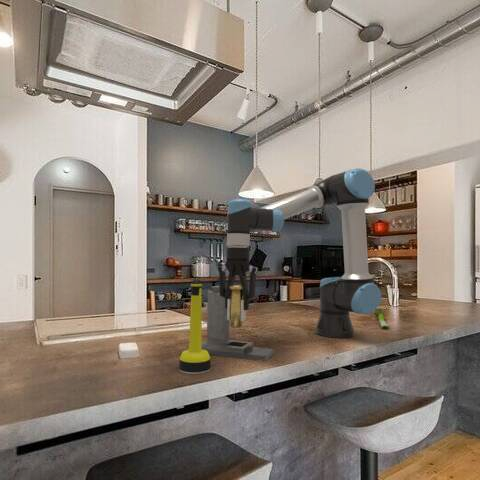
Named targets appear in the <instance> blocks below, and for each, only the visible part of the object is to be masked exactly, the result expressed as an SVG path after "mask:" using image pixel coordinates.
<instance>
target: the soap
mask: <svg viewBox="0 0 480 480" xmlns="http://www.w3.org/2000/svg"><path fill="white" fill-rule="evenodd" d="M139 352H140V351H139V347H138V345H137V342H121V343H119V345H118V354H119V359H120V360H126V359H136V358H139V356H140V353H139Z"/></svg>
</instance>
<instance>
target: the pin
mask: <svg viewBox="0 0 480 480" xmlns="http://www.w3.org/2000/svg"><path fill="white" fill-rule="evenodd" d="M229 289H231V309H230V323H229V327H231V328H242V327H243V322H244V321H241V300H243V293H242V289H243V286H241V284H233V285H231V286H229Z"/></svg>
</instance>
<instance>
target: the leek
mask: <svg viewBox="0 0 480 480" xmlns="http://www.w3.org/2000/svg"><path fill="white" fill-rule="evenodd" d="M384 312H385V310H384V309H383V308H376V310H375V311H374V316H375V320H376V321H379V325H380V327H381V329H383V328H387V330H389V329H390V330H391V327H390V326H389V324H387V322H386V320H385V319H384V318H387V315H386V313H384Z"/></svg>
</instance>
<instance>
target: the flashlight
mask: <svg viewBox="0 0 480 480" xmlns="http://www.w3.org/2000/svg"><path fill="white" fill-rule="evenodd" d="M190 287H191V290H190V291H191V294H190V295H191V296H190V317H189V333H188V334H189V337H188V338H189V340H188V349H186V350H183V351H182V353H181V354H180V356H179V361H178V371H179V372H180V373H183V374H188V375H197V374H198V375H199V374H205V372H206V373H208V372H211V370H212V363H211V355H210V354H209V353H208V351H206V350H202V343H203V342H202V339H203V337H202V332H203V331H202V327H203V326H202V325H203V324H202V321H203V317H202V314H203V312H202V309H203V307H202V303H203V302H202V301H203V298H202V295H203V294H202V289H203V288H202V287H203V283H202V281H201V280H200V279H199V278H194V279H192V282H191V283H190Z"/></svg>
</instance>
